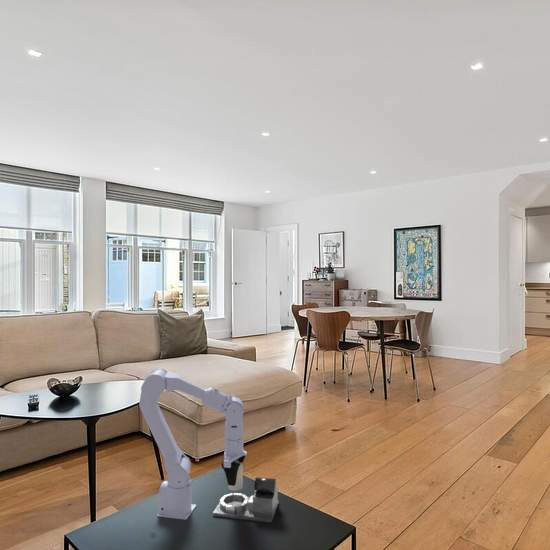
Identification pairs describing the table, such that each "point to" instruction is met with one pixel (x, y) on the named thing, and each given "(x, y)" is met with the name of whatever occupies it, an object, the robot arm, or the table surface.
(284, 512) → the table surface
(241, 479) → the white bottle
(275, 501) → the grey machine
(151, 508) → the table surface
